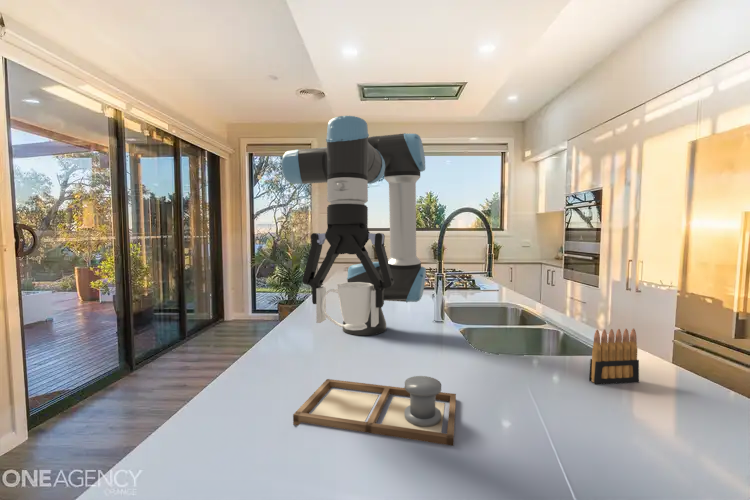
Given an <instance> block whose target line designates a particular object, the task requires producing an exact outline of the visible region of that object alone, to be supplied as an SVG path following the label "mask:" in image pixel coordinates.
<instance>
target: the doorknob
mask: <svg viewBox="0 0 750 500" xmlns="http://www.w3.org/2000/svg"><path fill="white" fill-rule="evenodd" d="M404 388H405V390H406V391H407V392H408V393H410V397H409V399H410V406H408V407H407V408H406V409H405V419H406V420H407V421H408V422H409V423H410V424H412V425H415V426H419V427H431V426H435V425H437V424H438V423H439V422H440V421H441V412H440V410H439V409H438V408H436V407H435V402H436V400H435V395H437V394H439V393H440V392H442V382H441V381H439V379H436V378H434V377H431V376H426V375H414V376H410V377H408V378H406V379H405V381H404Z"/></svg>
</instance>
